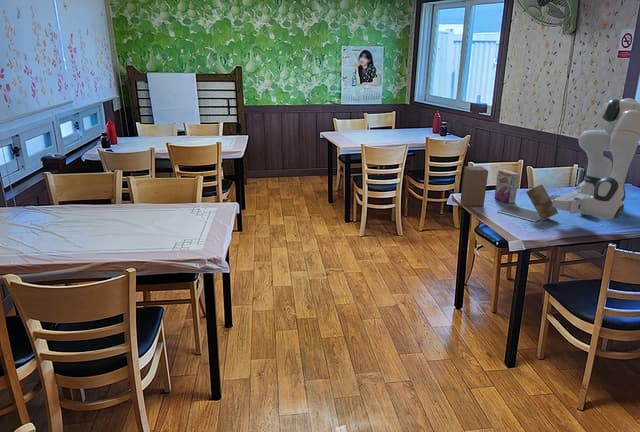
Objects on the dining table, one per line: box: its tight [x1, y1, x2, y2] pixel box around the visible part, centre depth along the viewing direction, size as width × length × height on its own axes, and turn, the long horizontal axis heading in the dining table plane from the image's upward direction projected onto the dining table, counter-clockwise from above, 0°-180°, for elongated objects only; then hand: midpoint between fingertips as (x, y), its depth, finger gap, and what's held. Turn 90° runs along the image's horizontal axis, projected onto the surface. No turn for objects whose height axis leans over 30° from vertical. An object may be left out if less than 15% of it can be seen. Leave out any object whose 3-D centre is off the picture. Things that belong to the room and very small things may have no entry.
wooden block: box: [460, 165, 489, 207], centre depth 243 cm, size 10×10×20 cm
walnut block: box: [525, 184, 559, 221], centre depth 223 cm, size 6×6×16 cm
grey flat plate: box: [496, 204, 542, 223], centre depth 231 cm, size 20×16×1 cm
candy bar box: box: [493, 169, 520, 204], centre depth 249 cm, size 11×5×16 cm, turn 22°
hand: (551, 196), depth 219 cm, fingers closed
